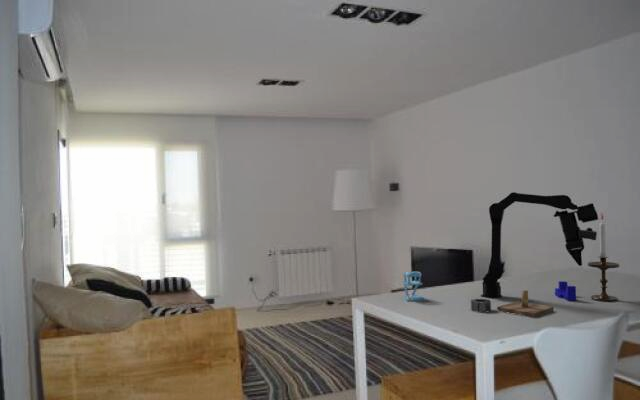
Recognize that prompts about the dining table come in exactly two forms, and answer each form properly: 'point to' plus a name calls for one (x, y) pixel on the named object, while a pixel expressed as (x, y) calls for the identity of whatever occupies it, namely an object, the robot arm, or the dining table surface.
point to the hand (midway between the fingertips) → (580, 264)
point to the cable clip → (566, 291)
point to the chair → (410, 283)
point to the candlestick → (603, 267)
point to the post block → (525, 307)
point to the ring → (480, 305)
